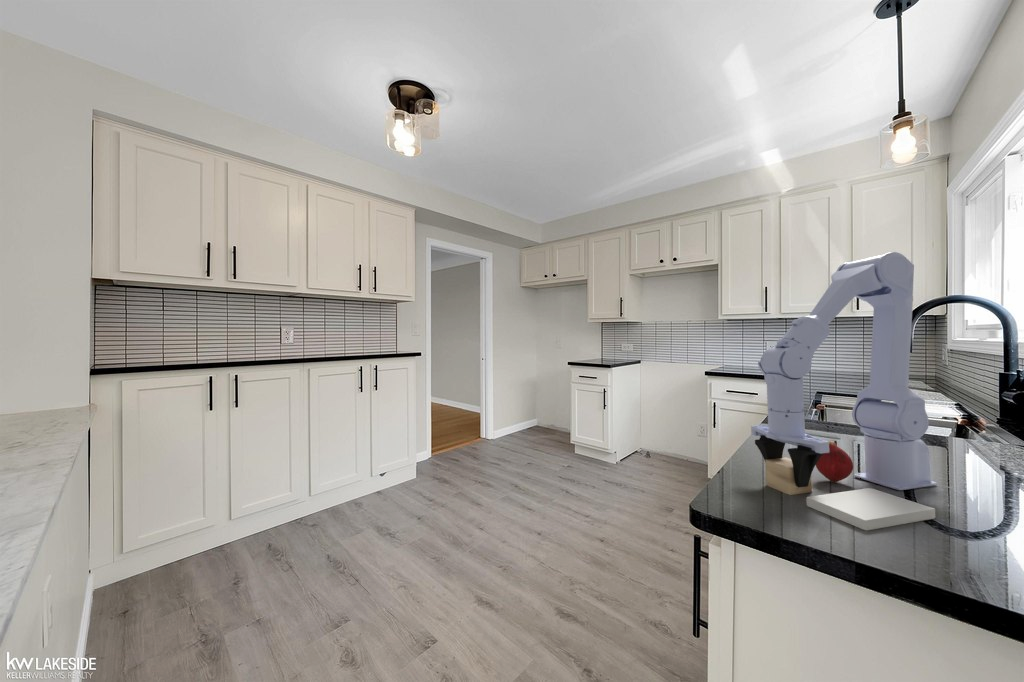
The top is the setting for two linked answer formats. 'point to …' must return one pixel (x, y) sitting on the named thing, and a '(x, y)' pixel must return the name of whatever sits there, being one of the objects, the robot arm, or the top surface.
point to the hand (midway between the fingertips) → (788, 481)
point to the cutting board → (870, 508)
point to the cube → (783, 476)
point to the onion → (835, 464)
